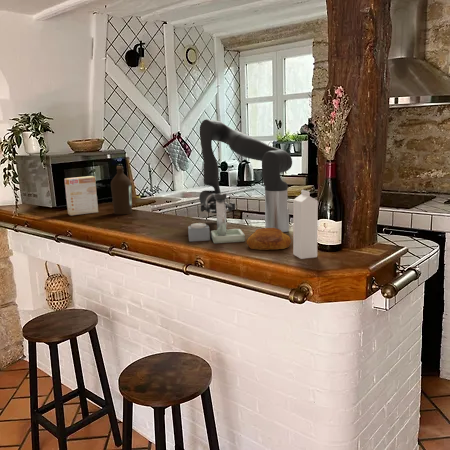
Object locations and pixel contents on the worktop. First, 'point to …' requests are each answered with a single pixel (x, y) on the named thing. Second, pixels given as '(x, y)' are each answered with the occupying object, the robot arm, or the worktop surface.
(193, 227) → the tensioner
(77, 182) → the coffeecake box
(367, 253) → the worktop surface
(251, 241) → the bread loaf
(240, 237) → the tray
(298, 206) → the milk
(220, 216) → the lock pin
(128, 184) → the olive oil
